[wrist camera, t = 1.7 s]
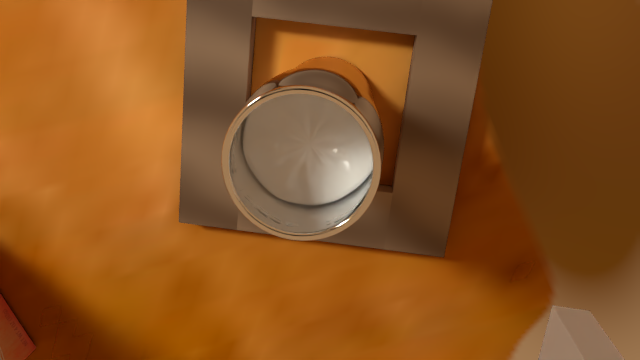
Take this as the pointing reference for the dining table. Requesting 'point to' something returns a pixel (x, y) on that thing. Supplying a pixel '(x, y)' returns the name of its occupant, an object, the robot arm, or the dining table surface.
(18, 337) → the cracker box
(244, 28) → the pocket frame
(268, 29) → the dining table surface
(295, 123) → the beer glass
